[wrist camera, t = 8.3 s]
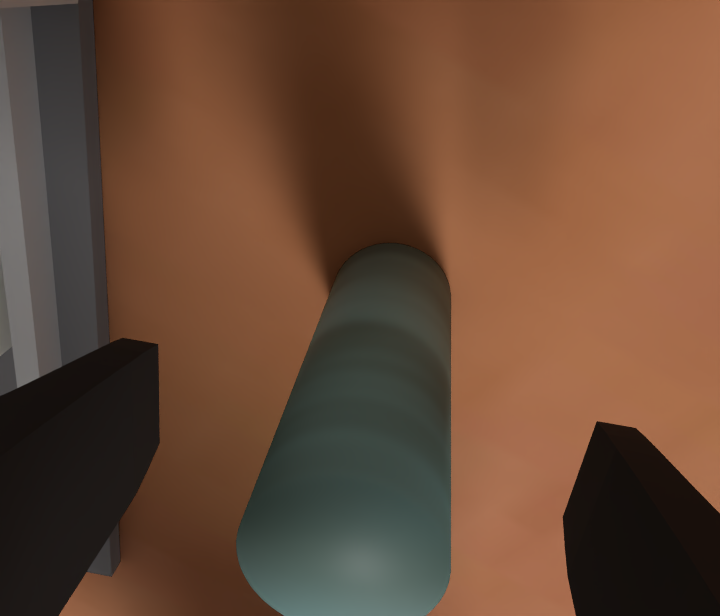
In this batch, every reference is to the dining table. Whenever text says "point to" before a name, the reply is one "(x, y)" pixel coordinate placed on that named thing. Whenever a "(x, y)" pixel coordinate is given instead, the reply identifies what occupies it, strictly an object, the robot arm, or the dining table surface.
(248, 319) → the dining table surface
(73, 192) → the base
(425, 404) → the dowel
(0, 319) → the sliding block
